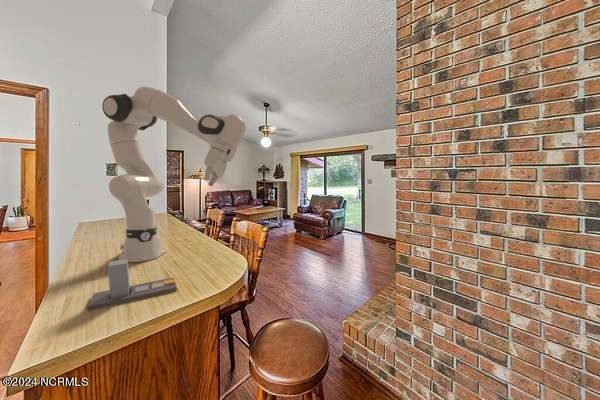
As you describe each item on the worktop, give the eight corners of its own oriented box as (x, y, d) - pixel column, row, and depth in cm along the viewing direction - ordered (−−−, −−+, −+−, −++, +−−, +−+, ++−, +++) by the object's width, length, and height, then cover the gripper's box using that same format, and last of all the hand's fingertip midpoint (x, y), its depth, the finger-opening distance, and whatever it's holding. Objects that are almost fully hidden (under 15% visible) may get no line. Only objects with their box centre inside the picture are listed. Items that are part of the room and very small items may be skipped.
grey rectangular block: (112, 295, 75) (109, 261, 74) (130, 292, 78) (127, 259, 76) (110, 302, 71) (107, 266, 70) (129, 298, 74) (126, 263, 73)
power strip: (94, 300, 75) (93, 291, 74) (174, 283, 86) (173, 275, 86) (88, 314, 67) (87, 304, 67) (177, 293, 79) (176, 285, 78)
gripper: (219, 157, 107) (205, 185, 104) (210, 139, 87) (193, 173, 84) (232, 163, 108) (219, 191, 105) (227, 146, 88) (210, 180, 85)
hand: (207, 183), depth 94 cm, fingers open, 8 cm apart
